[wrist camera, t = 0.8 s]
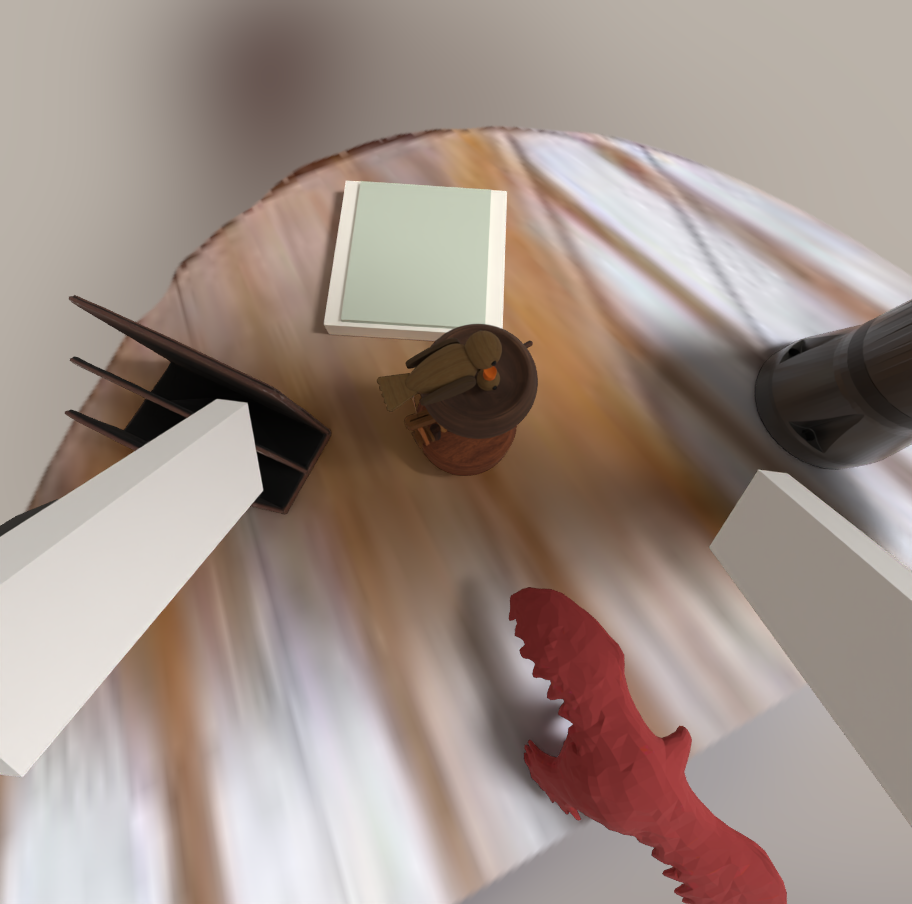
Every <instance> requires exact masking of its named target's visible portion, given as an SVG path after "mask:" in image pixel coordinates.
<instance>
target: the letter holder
mask: <svg viewBox="0 0 912 904" xmlns="http://www.w3.org/2000/svg"><path fill="white" fill-rule="evenodd" d="M69 300H70V301H71V302H72V303H74V304H75V305H77V306H78V307H80V308H82V309H83V310H85V311H87V312H88V313H90V314H92V315H93V316H95V317H97V318H98V319H100V320H102V321H104V322H105V323H107V324H108V325H110V326H112V327H114V328H115V329H117V330H119V331H121V332H122V333H124V334H125V335H127V336H129V337H131V338H133V339H134V340H136V341H137V342H139V343H141V344H143V345H144V346H146V347H147V348H149V349H151V350H153V351H154V352H156V353H158V354H159V355H161V356H163V357H164V358H166V359H168V360H169V361H170V362H171V363H170V365H169V366H168V368H167V370H166V371H165V373H164V374H163V376H162V377H161V379H160V380H159V381H158V383H157V384H156V386H155V387H154V388H153V390H152V391H151V392H150V391H147V390H145V389H143V388H141V387H140V386H138V385H135V384H133V383H131V382H128V381H126V380H124V379H122V378H120V377H118V376H116V375H114V374H112V373H110V372H107V371H105V370H103V369H100V368H98V367H96V366H94V365H92V364H90V363H87V362H86V361H84V360H82V359H80V358H78V357H73V358H71V359H70V361H71V362H72V363H74V364H75V365H77V366H79V367H81V368H84V369H86V370H88V371H90V372H92V373H94V374H96V375H98V376H101V377H103V378H105V379H107V380H109V381H111V382H113V383H115V384H117V385H119V386H121V387H124V388H125V389H128V390H130V391H132V392H134V393H136V394H138V395H140V396H142V397H144V398H146V399H145V400H144V402H143V404H142V405H141V407H140V408H139V410H138V411H137V413H136V414H135V416H134V417H133V418H132V420H131V421H130V422H129V424H128V425H127V427H126V428H125V429H124V430H122V429H119V428H117V427H114V426H111V425H109V424H106V423H103V422H101V421H98V420H96V419H93V418H91V417H88V416H86V415H84V414H82V413H79V412H77V411H74V410H69V411H66V412H65V414H66V415H67V416H69V417H70V418H72V419H74V420H75V421H77V422H79V423H81V424H83V425H85V426H87V427H89V428H91V429H93V430H95V431H97V432H99V433H101V434H103V435H105V436H107V437H109V438H111V439H113V440H115V441H116V442H118V443H120V444H123V445H124V446H126V447H129V448H130V449H133V450H134V451H136V450H138V449H139V448H141V447H142V446H144V445H145V444H147V443H149V442H150V441H152V440H153V439H155V438H156V437H158V436H160V435H161V434H163V433H164V432H166V431H167V430H169V429H171V428H172V427H174V426H175V425H177V424H178V423H180V422H182V421H183V420H185V419H186V418H188V417H189V416H191V415H193V414H194V413H196V412H197V411H199V410H201V409H202V408H204V407H205V406H207V405H208V404H210V403H212V402H213V401H215V400H216V399H222V400H229V401H237V402H245V403H248V409H249V414H250V420H251V425H252V431H253V436H254V442H255V447H256V453H257V458H258V464H259V470H260V475H261V481H262V486H263V491H262V493H261V494H260V495H259V496H258V497H257V498H256V500H255V501H254V502H253V503H252V504H251V506H253V507H258V508H261V509H266V510H269V511H273V512H277V513H281V514H287V512H288V510H289V509H290V507H291V505H292V503H293V502H294V500H295V498H296V496H297V495H298V493H299V491H300V489H301V487H302V486H303V484H304V482H305V481H306V479H307V477H308V475H309V473H310V472H311V470H312V468H313V467H314V465H315V463H316V461H317V460H318V458H319V456H320V455H321V453H322V451H323V449H324V447H325V446H326V444H327V442H328V440H329V438H330V436H331V431H330V430H329V429H328V428H327V427H325V426H324V425H323V424H321V423H320V422H319V421H318V420H316V419H315V418H314V417H313V416H312V415H311V414H309V413H308V412H307V411H305V410H304V409H303V408H301V407H300V406H298V405H297V404H295V403H294V402H293V401H291V400H290V399H289V398H287V397H286V396H285V395H284V394H282V393H281V392H280V391H278V390H277V389H275V388H274V387H272V386H270V385H268V384H266V383H264V382H262V381H260V380H257V379H255V378H253V377H251V376H249V375H247V374H245V373H242V372H240V371H238V370H236V369H234V368H232V367H230V366H228V365H226V364H224V363H222V362H220V361H218V360H215V359H213V358H211V357H209V356H207V355H205V354H203V353H201V352H198V351H196V350H194V349H192V348H190V347H188V346H186V345H184V344H182V343H180V342H178V341H176V340H174V339H171V338H169V337H167V336H165V335H163V334H160V333H158V332H156V331H154V330H151V329H149V328H147V327H145V326H143V325H141V324H139V323H136V322H134V321H132V320H130V319H127V318H125V317H123V316H121V315H119V314H116V313H114V312H113V311H110V310H108V309H106V308H104V307H101V306H99V305H97V304H94V303H92V302H89V301H87V300H85V299H83V298H80V297H78V296H76V295H74V296H71V297H69Z"/></svg>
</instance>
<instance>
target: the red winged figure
mask: <svg viewBox="0 0 912 904" xmlns="http://www.w3.org/2000/svg"><path fill="white" fill-rule="evenodd" d="M514 619H516V621H517V625H516V628H515V636H517V637H519V638H521V639H522V640H523V641H524V644H525V645H524V646H523V647H522V648H521V649H520V654H521V656H522V657H523V658H525V659H530V660H531V661H533V662H534V663H535V666H534V669H533V673H532V675H533V677H535V678H543V679H545V680H550V682H551V685H550V686H549V689H548V692H547V698H548V699H550V700H556V699H563V700H564V703H563V704H562V705H561V707H560V709H559V712H558V715H560V716H561V717H563V718H565V719H567V720H568V721H570V722H571V723H572V724H573V725H572V726H570V727H569V729H568V735H567V738H566V740H565V741H564V744H563V747H562V750H561V752H560V754H559V756H558V757H553V756H550V755H548V754H546V753H544V752H543V751H541V750H540V749H539V748H538V747H537V746H536V745H535V744H534V743H533V742H532V741H531V740H529V741H528V743H529V746H530V747H529V746H528V745H525V750H526V753H524V760H525V763H526V764H527V766H528V767H529V770H530V774H531V778H532V779H533V780H534V781H535V782H537V783H538V784H539V786H540V788H541V789H542V790H543V791H545V792H546V794H547V795H548V797H549V798H550V800H551V802H552V803H554V802H556V803H557V804H558V805H559V806H560V808H561V809H562V810H563V811H564V812H565V813H566V814H569V812H570V813H571V814H572V815H573V816H574V818H575V819H576V820H581V818H580V816H579V813H578V811H577V810H579V811H580V812H582V813H583V814H584V815H586V816H588V817H589V818H591V819H593V820H595V821H597V822H599V823H601V824H602V825H604V826H605V827H606V828H608V829H609V830H612V831H616V832H619V833H621V834H623V835H630V836H635V837H636V838H637V840H638V841H639V842H641V843H643V844H645V845H648V846H651V847H654V849H653V850H652V856H653V857H654V858H656V859H657V860H659V861H661V862H663V863H664V864H667V865H671V866H673V867H672V868H670V869H667V870H664V871H663V873H662V874H663V875H664V876H667V877H669V878H671V879H674V880H676V881H679V882H683V883H684V884H682V885H681V886H679V887H677V888H676V889H675V890H674V892H675V893H676V894H677V895H680V896H681V897H684V898H683V899H682V902H684V903H686V904H787V892H786V889H785V886H784V882H783V880H782V878H781V877H780V875H779V873H778V872H777V870H776V869H775V867H774V865H773V864H772V862H771V860H770V858H769V857H768V855H767V853H766V852H765V851H764V850H763V849H762V848H761V847H760V846H759V845H758V844H756V843H755V842H754V841H752V840H751V839H749V838H748V837H746V836H744V835H743V834H741V833H739V832H737V831H736V830H734V829H732V828H730V827H729V826H728V825H726V824H725V823H724V822H722V821H721V820H720V819H718V818H717V817H715V816H714V815H713V814H712V813H711V812H710V810H709V809H708V808H707V807H706V806H705V805H704V804H703V803H702V802H701V801H700V800H699V799H698V797H697V796H696V795H695V793H694V792H693V791H692V790H691V788H690V786H689V784H688V782H687V780H686V777H685V773H684V770H685V768H686V764H687V761H688V757H689V753H690V748H691V742H692V739H691V736H690V733H689V732H688V730H687V729H686V728H685V727H683V726H679V727H678V728H677V730H676V731H675V732H674V733H672V734H670V735H669V736H666V737H663V738H660V737H657V736H655V735H654V734H653V733H652V732H651V730H650V729H649V728H648V726H647V725H646V724H645V722H644V721H643V719H642V717H641V715H640V714H639V712H638V710H637V708H636V706H635V704H634V702H633V700H632V698H631V696H630V693H629V690H628V686H627V683H626V679H625V675H624V666H625V663H624V654H623V652H622V650H621V648H620V646H619V645H618V644H617V643H616V642H615V641H614V640H613V639H612V638H611V637H610V636H609V634H608V633H607V632H606V631H605V630H604V628H603V627H602V626H601V625H600V624H599V623H598V621H597V620H596V619H595V618H594V617H592V616H591V615H590V614H589V613H588V612H587V611H585V610H584V609H582V608H581V607H580V606H578V605H577V604H576V603H575V602H573V601H572V600H571V599H570V598H568V597H567V596H565V595H564V594H562V593H560V592H557V591H555V590H552V589H537V588H531V587H528V588H525V589H522V590H520V591H518V592H517V593H515V594H513V595H511V597H510V613H509V620H510V621H511V620H514Z"/></svg>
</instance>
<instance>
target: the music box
mask: <svg viewBox="0 0 912 904" xmlns="http://www.w3.org/2000/svg"><path fill="white" fill-rule="evenodd" d="M532 344H533V343H532V341H528V342H526V343H524V344H523V343H522V342H521V341H520V340H519V339H518V338H517V337H515V336H514V335H513V334H511V333H509V332H508V331H506V330H504V329H502V328H499V327H496V326H492V325H487V324H468V325H463V326H460V327H457V328H454V329H452V330H450V331H448V332H447V333H445V334H444V335H442V336H441V337H440V338H438V339H437V340H436V341H435V342H434V343H433V345H432V346H431V347H430V348H428V349H426V350H424V351H422V352H421V353H419V354H417V355H416V356H414V357H412V358H411V359H409V360H408V361H407V362H406V366H407V368H408V369H410V368H415V367H416V368H415V369H414V370H413V371H412V372H411V373H407V374H399V375H392V376H384V377H379V378H378V379H377V383H378V384H379V385H380V386H379V389H380V390H381V391H382V396H383V398H384V403H385V404H386V405H387V407H386V408H387V410H388V411H389V412H392V411H394V410H395V409H396V408H398V407H399V406H401V405H402V404H404V403H405V402H406V401H408V400H409V399H411V398H412V399H413V403H414V407H415V411H416V413H415V414H412V415H409V416H407V417H406V418H405V425H406V427H407V429H408V430H413V431H414V432H412V435H413V437H414V439H415V441H416V443H417V444H418V446H419V448H420V449H421V448H422V450H423V452H424V453H425V455H426V456H427V458H428V459H429V460H430V461H431V462H432V463H433V464H434V465H436V466H437V467H438V468H440V469H442V470H444V471H446V472H448V473H451V474H455V475H462V476H468V475H476V474H479V473H482V472H485V471H487V470H489V469H491V468H492V467H494V466H495V465H496V464H497V463H498V462H499V461H500V460H501V459H502V458H503V457H504V455H505V454H506V452H507V451H508V449H509V448H510V446H511V444H512V442H513V440H514V437H515V433H516V427H517V425H518V424H519V423H520V422H521V421H522V420H523V419H524V418H525V416H526V415H527V414H528V412H529V411H530V409H531V407H532V405H533V403H534V400H535V397H536V393H537V386H538V378H537V370H536V366H535V363H534V360H533V358H532V356H531V354H530V352H529V351H528V349H527V348H528V347H530V346H532ZM416 394H421V397H422V398H421V399H420V402H419V405H418V407H417V409H416V404H415V400H414V396H415V395H416Z"/></svg>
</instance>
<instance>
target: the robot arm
mask: <svg viewBox="0 0 912 904" xmlns="http://www.w3.org/2000/svg"><path fill="white" fill-rule="evenodd" d="M755 396H756V404H757V408H758V411H759V414H760V417H761V419H762V421H763V423H764V425H765V427H766V428H767V430H768V431H769V433H770V434H771V436H772V437H773V438H774V439H775V440H776V441H777V442H778V443H779V444H780V445H781V446H782V447H783V448H784V449H785V450H786V451H788V452H789V453H790V454H792V455H793V456H795V457H797V458H798V459H800V460H802V461H804V462H806V463H809V464H811V465H814V466H818V467H822V468H827V469H846V468H852V467H858V466H863V465H868V464H872V463H875V462H878V461H881V460H883V459H885V458H887V457H889V456H891V455H893V454H895V453H897V452H899V451H900V450H902V449H904V448H906V447H908V446H910V445H912V299H911V300H909V301H907V302H905V303H903V304H901V305H899V306H897V307H895V308H893V309H891V310H890V311H888V312H886V313H884V314H882V315H880V316H878V317H876V318H874V319H873V320H871V321H868V322H866V323H864V324H862V325H858V326H854V327H849V328H845V329H841V330H836V331H832V332H828V333H823V334H819V335H815V336H810V337H807V338H804V339H801V340H798V341H796V342H794V343H792V344H790V345H789V346H787V347H785V348H783V349H782V350H780V351H778V352H777V353H775V354H774V355H772V356H771V357H770V358H769V359H768V360H767V361H766V362H765V364H764V365H763V367H762V368H761V370H760V372H759V375H758V378H757V381H756V389H755ZM262 491H263V486H262V481H261V475H260V470H259V464H258V458H257V453H256V447H255V442H254V436H253V431H252V425H251V420H250V414H249V409H248V403H245V402H237V401H229V400H222V399H216V400H215V401H213V402H212V403H210V404H208V405H207V406H205V407H204V408H202V409H201V410H199V411H197V412H196V413H194V414H193V415H191V416H189V417H188V418H186V419H185V420H183V421H182V422H180V423H178V424H177V425H175V426H174V427H172V428H171V429H169V430H167V431H166V432H164V433H163V434H161V435H160V436H158V437H156V438H155V439H153V440H152V441H150V442H149V443H147V444H145V445H144V446H142V447H141V448H139V449H138V450H136V451H134V452H133V453H131V454H130V455H128V456H127V457H125V458H123V459H122V460H120V461H119V462H117V463H116V464H114V465H112V466H111V467H109V468H108V469H106V470H105V471H103V472H101V473H100V474H98V475H97V476H95V477H94V478H92V479H90V480H89V481H87V482H86V483H84V484H83V485H81V486H79V487H78V488H76V489H75V490H73V491H72V492H70V493H68V494H67V495H65V496H64V497H62V498H61V499H59V500H58V499H57V500H54V501H52V502H49V503H47V504H44V505H42V506H40V507H37V508H35V509H32V510H30V511H27V512H25V513H23V514H20V515H18V516H15V517H14V518H12V519H11V520H9V521H7V522H6V523H4V524H2V525H1V526H0V775H7V776H15V777H23V776H24V775H25V774H26V773H27V772H28V770H29V769H30V768H31V767H32V766H33V764H34V763H35V762H36V761H37V760H38V758H39V757H40V756H41V755H42V754H43V752H44V751H45V750H46V749H47V748H48V747H49V745H50V744H51V743H52V742H53V741H54V739H55V738H56V737H57V736H58V735H59V733H60V732H61V731H62V730H63V729H64V727H65V726H66V725H67V724H68V723H69V721H70V720H71V719H72V718H73V717H74V716H75V714H76V713H77V712H78V711H79V710H80V708H81V707H82V706H83V705H84V704H85V702H86V701H87V700H88V699H89V698H90V696H91V695H92V694H93V693H94V692H95V690H96V689H97V688H98V687H99V686H100V685H101V683H102V682H103V681H104V680H105V679H106V677H107V676H108V675H109V674H110V673H111V671H112V670H113V669H114V668H115V667H116V665H117V664H118V663H119V662H120V661H121V659H122V658H123V657H124V656H125V655H126V654H127V652H128V651H129V650H130V649H131V648H132V646H133V645H134V644H135V643H136V642H137V640H138V639H139V638H140V637H141V636H142V634H143V633H144V632H145V631H146V630H147V628H148V627H149V626H150V625H151V624H152V622H153V621H154V620H155V619H156V618H157V617H158V615H159V614H160V613H161V612H162V611H163V609H164V608H165V607H166V606H167V605H168V603H169V602H170V601H171V600H172V599H173V597H174V596H175V595H176V594H177V593H178V591H179V590H180V589H181V588H182V587H183V586H184V584H185V583H186V582H187V581H188V580H189V578H190V577H191V576H192V575H193V574H194V572H195V571H196V570H197V569H198V568H199V566H200V565H201V564H202V563H203V562H204V560H205V559H206V558H207V557H208V556H209V555H210V553H211V552H212V551H213V550H214V549H215V547H216V546H217V545H218V544H219V543H220V541H221V540H222V539H223V538H224V537H225V535H226V534H227V533H228V532H229V531H230V529H231V528H232V527H233V526H234V525H235V524H236V522H237V521H238V520H239V519H240V518H241V516H242V515H243V514H244V513H245V512H246V510H247V509H248V508H249V507H250V506H251V504H252V503H253V502H254V501H255V500H256V498H257V497H258V496H259V495H260V494H261V493H262ZM709 548H710V550H711V551H712V552H713V554H714V555H715V556H716V558H717V559H718V561H719V562H720V563H721V565H722V566H723V568H724V569H725V570H726V572H727V573H728V574H729V576H730V577H731V579H732V580H733V581H734V583H735V584H736V585H737V587H738V588H739V590H740V591H741V592H742V594H743V595H744V597H745V598H746V599H747V601H748V602H749V603H750V605H751V606H752V608H753V609H754V610H755V612H756V613H757V614H758V616H759V617H760V619H761V620H762V621H763V623H764V624H765V625H766V627H767V628H768V630H769V631H770V632H771V634H772V635H773V637H774V638H775V639H776V641H777V642H778V643H779V645H780V646H781V648H782V649H783V650H784V652H785V653H786V654H787V656H788V657H789V659H790V660H791V661H792V663H793V664H794V666H795V667H796V668H797V670H798V671H799V672H800V674H801V675H802V677H803V678H804V679H805V681H806V682H807V683H808V685H809V686H810V688H811V689H812V690H813V692H814V693H815V695H816V696H817V697H818V698H819V700H820V701H821V703H822V704H823V706H824V707H825V708H826V710H827V711H828V712H829V714H830V715H831V717H832V718H833V719H834V721H835V722H836V723H837V725H838V726H839V728H840V729H841V730H842V732H843V733H844V735H845V736H846V737H847V739H848V740H849V741H850V743H851V744H852V746H853V747H854V748H855V750H856V751H857V752H858V754H859V755H860V757H861V758H862V759H863V761H864V762H865V764H866V765H867V766H868V767H869V769H870V770H871V771H872V773H873V775H874V776H875V777H876V779H877V780H878V781H879V783H880V784H881V786H882V787H883V788H884V790H885V791H886V792H887V794H888V795H889V797H890V798H891V799H892V801H893V802H894V804H895V805H896V806H897V808H898V809H899V810H900V812H901V813H902V815H903V816H904V817H905V819H906V820H907V821H908V823H909V824H910V826H911V827H912V571H911V570H910V569H909V568H907V567H906V566H905V565H904V564H902V563H901V562H900V561H898V560H897V559H896V558H895V557H893V556H892V555H891V554H890V553H888V552H887V551H886V550H884V549H883V548H882V547H881V546H879V545H878V544H877V543H876V542H874V541H873V540H872V539H870V538H869V537H868V536H867V535H865V534H864V533H863V532H862V531H860V530H859V529H858V528H856V527H855V526H854V525H853V524H851V523H850V522H849V521H848V520H846V519H845V518H844V517H842V516H841V515H840V514H839V513H837V512H836V511H835V510H834V509H832V508H831V507H830V506H828V505H827V504H826V503H825V502H823V501H822V500H821V499H820V498H818V497H817V496H816V495H814V494H813V493H812V492H811V491H809V490H808V489H807V488H806V487H804V486H803V485H802V484H800V483H799V482H798V481H797V480H795V479H794V478H793V477H792V476H790V475H789V474H788V473H781V472H773V471H765V470H758V471H757V473H756V474H755V476H754V477H753V479H752V480H751V482H750V484H749V485H748V487H747V488H746V490H745V491H744V493H743V495H742V496H741V498H740V499H739V501H738V502H737V504H736V506H735V507H734V509H733V510H732V512H731V513H730V515H729V517H728V518H727V520H726V521H725V523H724V524H723V526H722V528H721V529H720V531H719V532H718V534H717V535H716V537H715V539H714V540H713V542H712V543H711V545H710V546H709Z"/></svg>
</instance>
